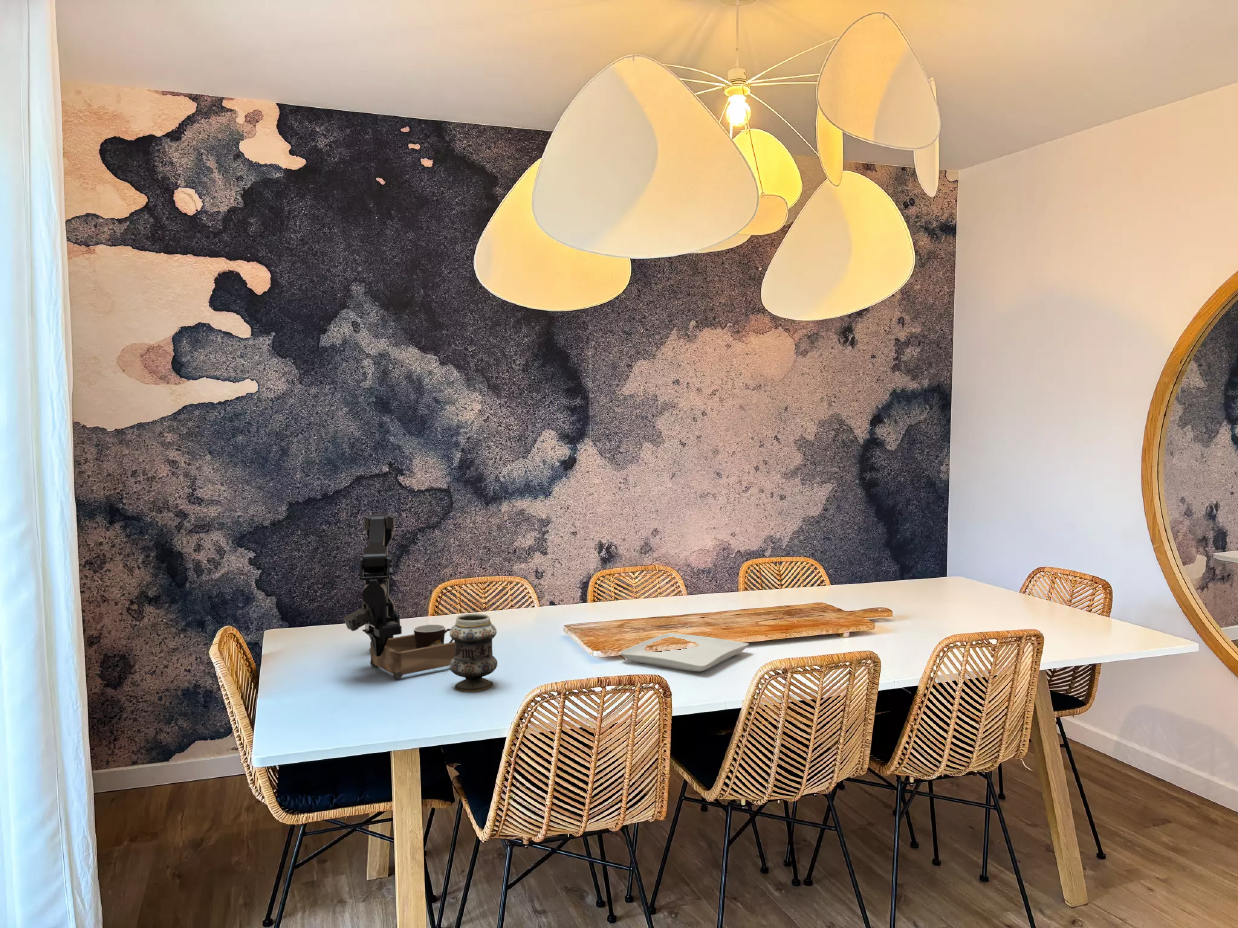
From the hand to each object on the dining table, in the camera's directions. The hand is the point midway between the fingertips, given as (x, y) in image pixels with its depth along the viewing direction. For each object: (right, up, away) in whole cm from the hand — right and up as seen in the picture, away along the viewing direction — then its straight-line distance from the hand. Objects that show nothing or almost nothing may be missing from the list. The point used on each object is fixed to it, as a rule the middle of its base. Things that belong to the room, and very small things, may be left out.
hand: (378, 656), depth 246 cm
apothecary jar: (+27, -6, -12) cm, 30 cm away
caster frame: (+10, -4, +8) cm, 13 cm away
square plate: (+83, -4, +11) cm, 84 cm away
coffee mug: (+13, -4, +10) cm, 17 cm away
